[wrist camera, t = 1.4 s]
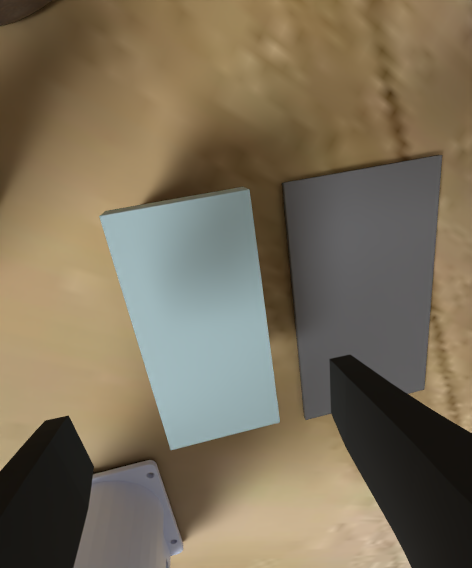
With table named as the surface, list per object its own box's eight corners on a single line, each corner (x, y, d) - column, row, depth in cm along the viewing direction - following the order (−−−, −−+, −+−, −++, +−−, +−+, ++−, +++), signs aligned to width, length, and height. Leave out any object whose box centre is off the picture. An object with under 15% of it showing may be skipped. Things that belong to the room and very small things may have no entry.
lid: (273, 405, 18) (280, 422, 16) (170, 431, 17) (170, 450, 16) (243, 186, 13) (249, 189, 12) (105, 210, 13) (99, 216, 12)
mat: (421, 386, 25) (424, 389, 24) (304, 416, 24) (305, 420, 23) (438, 155, 19) (442, 155, 18) (282, 182, 18) (283, 183, 17)
